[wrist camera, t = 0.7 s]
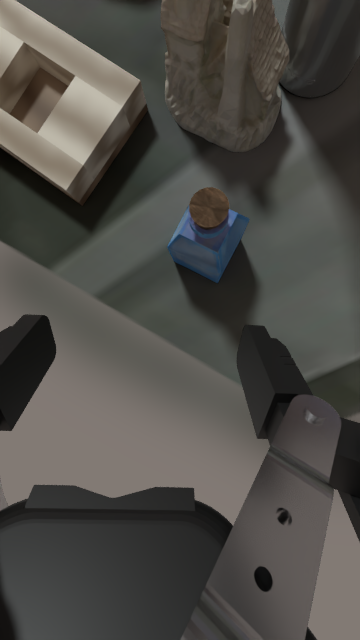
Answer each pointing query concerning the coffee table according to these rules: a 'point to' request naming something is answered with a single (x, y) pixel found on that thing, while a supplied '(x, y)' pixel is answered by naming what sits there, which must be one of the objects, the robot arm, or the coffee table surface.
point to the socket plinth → (62, 103)
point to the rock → (224, 69)
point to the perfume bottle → (207, 234)
